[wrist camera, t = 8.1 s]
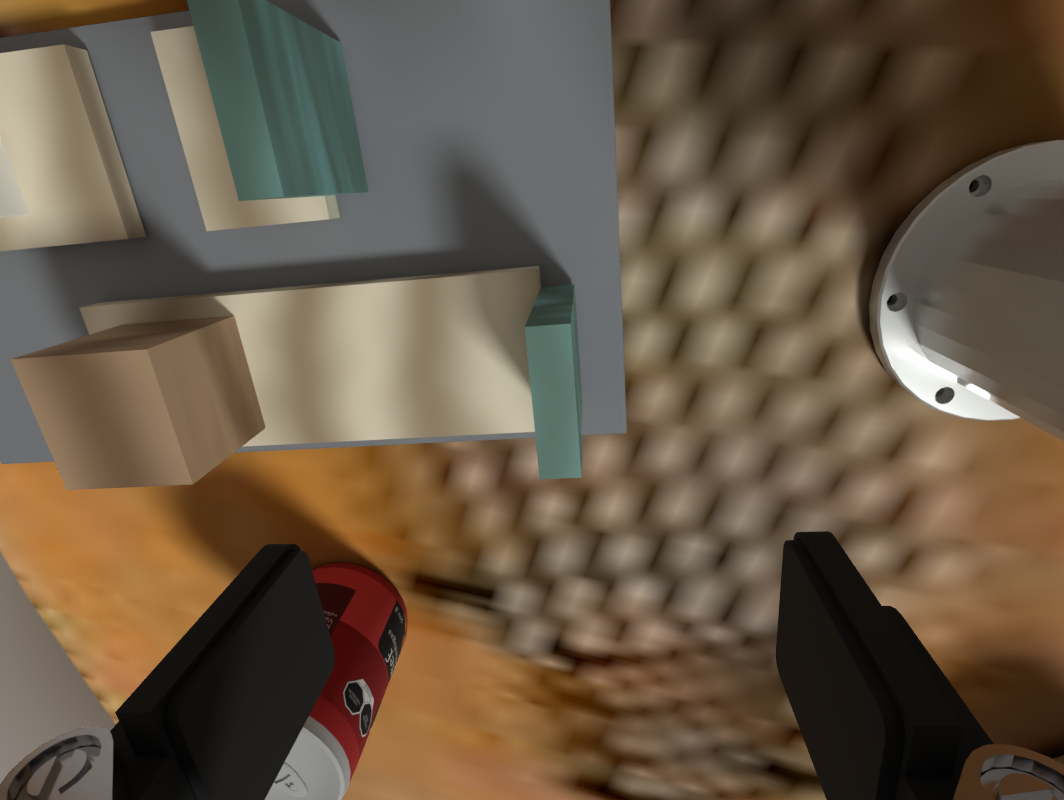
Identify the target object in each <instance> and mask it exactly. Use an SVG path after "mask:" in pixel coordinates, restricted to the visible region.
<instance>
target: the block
mask: <svg viewBox="0 0 1064 800" xmlns="http://www.w3.org/2000/svg"><path fill="white" fill-rule="evenodd" d="M22 215H30V212H29V209H28V207H27V204H26V202H25V199H24V196H23V194H22V191H21V189H20V186H19V183H18V181H17V178H16V176H15V173H14V170H13V168H12V165H11V162H10V160H9V157H8V155H7V152H6V149H5V147H4V144H3V142H2V139H1V136H0V218H3V217H13V216H22Z"/></svg>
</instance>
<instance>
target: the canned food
mask: <svg viewBox="0 0 1064 800" xmlns="http://www.w3.org/2000/svg"><path fill="white" fill-rule="evenodd" d="M312 572H313V576H314V580H315V583H316V587H317V591H318V594H319V598H320V601H321V605H322V609H323V612H324V616H325V620H326V623H327V627H328V630H329V634H330V638H331V641H332V645H333V649H334V653H335V662H334V667H333V670H332V673H331V675H330V677H329V679H328V680H327V682H326V684H325V686H324V688H323V690H322V692H321V694H320V696H319V698H318V699H317V701H316V703H315V705H314V707H313V709H312V711H311V713H310V715H309V717H308V718H307V720H306V722H305V724H304V726H303V728H302V730H301V732H300V734H299V736H298V737H297V739H296V741H295V743H294V745H293V747H292V749H291V751H290V753H289V755H288V756H287V758H286V760H285V762H284V764H283V766H282V768H281V770H280V772H279V773H278V775H277V777H276V779H275V781H274V783H273V785H272V787H271V789H270V791H269V792H268V794H267V796H266V798H265V800H342V797H343V795H344V794H345V792H346V790H347V788H348V785H349V783H350V780H351V778H352V775H353V773H354V771H355V769H356V766H357V764H358V761H359V759H360V756H361V753H362V751H363V748H364V746H365V743H366V740H367V738H368V735H369V733H370V730H371V727H372V725H373V722H374V720H375V717H376V714H377V712H378V709H379V707H380V704H381V701H382V699H383V696H384V694H385V691H386V688H387V686H388V683H389V680H390V678H391V675H392V673H393V670H394V667H395V665H396V662H397V660H398V657H399V654H400V652H401V649H402V647H403V644H404V641H405V639H406V634H407V613H406V608H405V605H404V602H403V600H402V598H401V597H400V595H399V593H398V592H397V591H396V589H395V588H394V587H393V586H392V585H391V584H390V583H389V582H388V581H387V580H385V579H384V578H383V577H382V576H380V575H379V574H377V573H375V572H374V571H372V570H370V569H367V568H365V567H362V566H359V565H355V564H351V563H340V562H338V563H328V564H325V565H321V566H318V567H317V568H315V569H313V570H312Z"/></svg>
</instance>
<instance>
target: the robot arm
mask: <svg viewBox="0 0 1064 800" xmlns="http://www.w3.org/2000/svg"><path fill="white" fill-rule="evenodd" d="M971 181H972V185H973V186H972V188H971V189H970V190H969V186H970V184H971ZM891 295H892V300H891V301H890V302H889V303H887V301H888V298H889V297H890V296H891ZM869 318H870V332H871V336H872V339H873V343H874V347H875V351H876V353H877V355H878V357H879V359H880V361H881V362H882V364H883V366H884V368H885V370H886V372H887V373H888V374H889V375H890V376H891V377H892V378H893V379H894V381H895V382H896V383H897V384H898V385H899V386H900V387H901V388H902V389H904V390H905V391H906V392H908V393H909V394H911V395H912V396H913V397H915V398H916V399H917V400H919V401H921V402H922V403H924V404H926V405H927V406H929V407H931V408H932V409H935V410H937V411H940V412H943V413H946V414H949V415H952V416H956V417H959V418H964V419H972V420H981V421H998V420H1014V419H1019V418H1022V419H1024V420H1026V421H1028V422H1030V423H1032V424H1033V425H1035V426H1037V427H1039V428H1041V429H1042V430H1044V431H1046V432H1048V433H1050V434H1052V435H1053V436H1055V437H1057V438H1059V439H1061V440H1063V441H1064V140H1053V141H1044V142H1036V143H1027V144H1024V145H1020V146H1017V147H1013V148H1010V149H1006V150H1003V151H999V152H996V153H994V154H992V155H990V156H987V157H985V158H983V159H981V160H979V161H977V162H974V163H972V164H970V165H968V166H966V167H965V168H963V169H962V170H960V171H959V172H957V173H956V174H954V175H953V176H951V177H950V178H948V179H947V180H945V181H944V182H942V183H941V184H940V185H938V186H937V187H936V188H935V189H934V190H933V191H932V192H931V193H930V194H929V195H927V196H926V197H925V198H924V199H923V200H922V201H921V202H920V203H919V204H918V205H916V207H915V208H914V209H913V210H912V212H911V213H910V214H909V215H908V217H907V218H906V219H905V220H904V222H903V223H902V224H901V225H900V227H899V228H898V229H897V231H896V232H895V234H894V236H893V237H892V239H891V241H890V243H889V244H888V246H887V248H886V250H885V251H884V253H883V255H882V258H881V261H880V263H879V266H878V269H877V272H876V274H875V277H874V280H873V285H872V291H871V297H870V303H869ZM334 662H335V653H334V649H333V645H332V641H331V638H330V634H329V630H328V627H327V623H326V620H325V616H324V612H323V609H322V605H321V601H320V598H319V594H318V591H317V587H316V583H315V580H314V576H313V572H312V569H311V565H310V562H309V558H308V555H307V554H306V552H304V551H301V550H300V548H299V547H298V546H297V545H295V544H269V545H265V546H264V547H263V548H262V549H261V550H260V551H259V552H258V553H257V554H256V556H255V557H254V558H253V559H252V560H251V561H250V562H249V563H248V565H247V566H246V567H245V568H244V569H243V570H242V571H241V572H240V573H239V575H238V576H237V577H236V578H235V579H234V580H233V581H232V582H231V584H230V585H229V586H228V587H227V588H226V589H225V590H224V591H223V593H222V594H221V595H220V596H219V597H218V598H217V599H216V600H215V601H214V603H213V604H212V605H211V606H210V607H209V608H208V609H207V610H206V612H205V613H204V614H203V615H202V616H201V617H200V618H199V619H198V621H197V622H196V623H195V624H194V625H193V626H192V627H191V628H190V629H189V631H188V632H187V633H186V634H185V635H184V636H183V637H182V638H181V640H180V641H179V642H178V643H177V644H176V645H175V646H174V647H173V648H172V650H171V651H170V652H169V653H168V654H167V655H166V656H165V657H164V659H163V660H162V661H161V662H160V663H159V664H158V665H157V666H156V668H155V669H154V670H153V671H152V672H151V673H150V674H149V675H148V676H147V678H146V679H145V680H144V681H143V682H142V683H141V684H140V685H139V687H138V688H137V689H136V690H135V691H134V692H133V693H132V694H131V696H130V697H129V698H128V699H127V700H126V701H125V702H124V703H123V704H122V706H121V707H120V708H119V709H118V710H117V711H116V712H115V713H116V715H117V717H118V719H119V722H118V723H117V724H116V725H115V726H114V728H113V729H112V730H111V731H110V732H109V731H108V730H107V729H105V728H104V727H96V726H89V727H84V728H78V729H75V730H72V731H69V732H67V733H64V734H61V735H59V736H57V737H55V738H54V739H52V740H50V741H48V742H46V743H44V744H42V745H41V746H40V747H38V748H37V749H36V750H34V751H33V752H31V753H30V754H29V755H27V756H26V757H25V758H23V760H22V761H20V762H19V763H18V764H17V765H16V766H15V767H14V768H13V769H12V770H11V771H10V772H9V773H8V774H7V776H6V777H5V778H4V780H3V781H2V783H1V784H0V800H265V798H266V796H267V794H268V792H269V791H270V789H271V787H272V785H273V783H274V781H275V779H276V777H277V775H278V773H279V772H280V770H281V768H282V766H283V764H284V762H285V760H286V758H287V756H288V755H289V753H290V751H291V749H292V747H293V745H294V743H295V741H296V739H297V737H298V736H299V734H300V732H301V730H302V728H303V726H304V724H305V722H306V720H307V718H308V717H309V715H310V713H311V711H312V709H313V707H314V705H315V703H316V701H317V699H318V698H319V696H320V694H321V692H322V690H323V688H324V686H325V684H326V682H327V680H328V679H329V677H330V675H331V673H332V670H333V667H334ZM776 662H777V668H778V672H779V675H780V678H781V680H782V683H783V686H784V688H785V691H786V694H787V696H788V699H789V702H790V704H791V707H792V709H793V712H794V715H795V717H796V720H797V723H798V725H799V728H800V731H801V733H802V736H803V738H804V741H805V744H806V746H807V749H808V752H809V754H810V757H811V759H812V762H813V765H814V767H815V770H816V773H817V775H818V778H819V781H820V783H821V786H822V788H823V791H824V794H825V796H826V799H827V800H1064V766H1063V765H1062V764H1060V763H1058V762H1056V761H1055V760H1053V759H1051V758H1049V757H1048V756H1045V755H1042V754H1040V753H1037V752H1034V751H1032V750H1029V749H1027V748H1023V747H1018V746H1013V745H1007V744H993V743H992V741H991V740H990V738H989V737H988V735H987V734H986V733H985V731H984V730H983V728H982V727H981V726H980V724H979V723H978V721H977V720H976V719H975V717H974V716H973V714H972V713H971V712H970V710H969V709H968V707H967V706H966V705H965V703H964V702H963V700H962V699H961V698H960V696H959V695H958V693H957V692H956V691H955V689H954V688H953V686H952V685H951V684H950V682H949V681H948V679H947V678H946V677H945V675H944V674H943V672H942V671H941V670H940V668H939V667H938V665H937V664H936V663H935V661H934V660H933V658H932V657H931V656H930V654H929V653H928V651H927V650H926V648H925V647H924V646H923V644H922V643H921V641H920V640H919V639H918V637H917V636H916V634H915V633H914V632H913V630H912V629H911V627H910V626H909V625H908V623H907V622H906V620H905V619H904V618H903V616H902V615H901V614H900V613H899V612H898V611H897V609H895V608H893V607H891V606H881V604H880V603H879V601H878V600H877V598H876V597H875V595H874V594H873V593H872V591H871V590H870V588H869V587H868V585H867V584H866V582H865V581H864V579H863V578H862V576H861V575H860V573H859V572H858V571H857V569H856V568H855V566H854V565H853V563H852V562H851V560H850V559H849V557H848V556H847V554H846V553H845V551H844V550H843V548H842V547H841V546H840V544H839V543H838V541H837V540H836V538H835V537H834V535H833V534H832V533H831V532H828V531H827V532H797V533H796V534H795V536H794V540H787V541H785V543H784V548H783V562H782V575H781V589H780V603H779V617H778V631H777V645H776Z"/></svg>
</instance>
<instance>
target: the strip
mask: <svg viewBox="0 0 1064 800" xmlns="http://www.w3.org/2000/svg"><path fill="white" fill-rule="evenodd" d="M79 309H80V311H81V314H82V317H83V319H84V322H85V325H86V327H87V330H88V333H89V335H90V334H93V333H97V332H100V331H103V330H106V329H110V328H113V327H116V326H119V325H122V324H135V323H147V322H160V321H173V320H185V319H198V318H211V317H223V316H235V320H236V323H237V327H238V331H239V334H240V338H241V341H242V345H243V348H244V352H245V356H246V359H247V363H248V366H249V370H250V373H251V377H252V381H253V384H254V388H255V391H256V395H257V398H258V402H259V406H260V409H261V413H262V416H263V420H264V423H265V427H266V428H265V429H264V430H263V431H261V432H260V433H259V434H257V435H256V436H255V437H253V438H252V439H251V440H250V441H248V442H247V443H246V444H244V445H243V446H242V447H245V446H264V445H284V444H304V443H323V442H343V441H363V440H383V439H402V438H422V437H442V436H461V435H481V434H501V433H520V432H535V436H536V446H537V456H538V466H539V475H540V479H557V478H581V477H582V389H581V375H580V360H579V345H578V330H577V315H576V300H575V285H561V286H549V287H541V281H540V270H539V266H532V267H520V268H508V269H496V270H484V271H472V272H461V273H449V274H437V275H425V276H413V277H401V278H389V279H377V280H365V281H353V282H341V283H329V284H318V285H306V286H294V287H282V288H270V289H258V290H246V291H234V292H222V293H210V294H198V295H187V296H175V297H163V298H151V299H139V300H127V301H115V302H103V303H96V304H92V305H88V306H84V307H80V308H79Z"/></svg>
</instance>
